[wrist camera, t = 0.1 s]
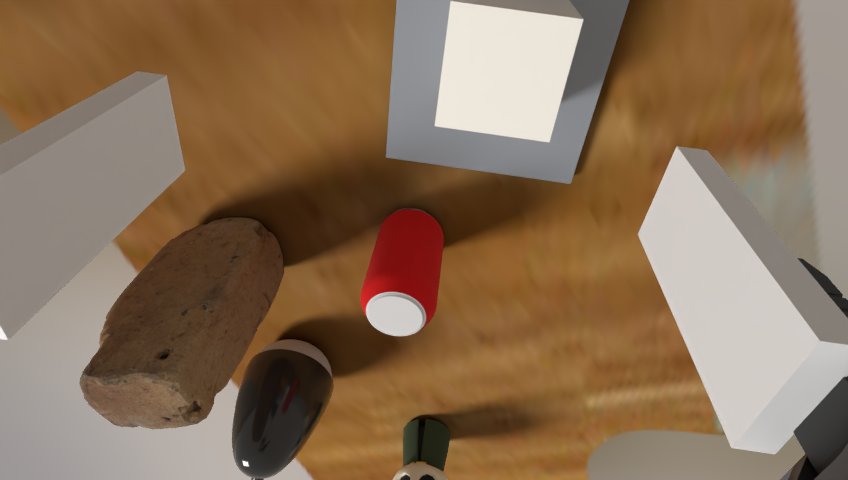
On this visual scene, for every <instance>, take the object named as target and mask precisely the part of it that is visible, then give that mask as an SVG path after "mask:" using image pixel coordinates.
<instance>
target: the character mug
mask: <svg viewBox="0 0 848 480" xmlns="http://www.w3.org/2000/svg"><path fill="white" fill-rule="evenodd" d="M449 440H450V433H449V431H448V429H447V428H446V426H444V425H443V424H441V423H440V422H438V421H434V420H430V419H426V421H425V426H421V427H419V420H414V421H411V422H409V423H408V424H407V425H406V426H405V428H404V438H403V467H402V468H401V469H400V470H399V471H398V472H397V473H396V475H395V477H394V478H393V480H449V479H448V477H447V476H446V475H445V473H444V472H443V471H444V466H445V461H446V457H447V452H448V446H449Z"/></svg>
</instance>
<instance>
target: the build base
mask: <svg viewBox="0 0 848 480" xmlns="http://www.w3.org/2000/svg"><path fill="white" fill-rule="evenodd" d="M628 4H629V0H397V4H396V18H395V32H394V47H393V61H392V75H391V90H390V104H389V118H388V132H387V147H386V158H392V159H399V160H406V161H413V162H420V163H427V164H434V165H441V166H448V167H455V168H462V169H469V170H476V171H483V172H490V173H497V174H504V175H511V176H518V177H525V178H532V179H539V180H546V181H553V182H560V183H567V184H571V181H572V178H573V175H574V172H575V169H576V166H577V162H578V159H579V156H580V153H581V150H582V147H583V144H584V141H585V137H586V134H587V131H588V128H589V125H590V122H591V119H592V116H593V113H594V109H595V106H596V103H597V100H598V97H599V94H600V91H601V88H602V85H603V81H604V78H605V75H606V72H607V69H608V66H609V63H610V60H611V57H612V53H613V50H614V47H615V44H616V41H617V38H618V35H619V32H620V28H621V25H622V22H623V19H624V16H625V13H626V10H627V7H628Z"/></svg>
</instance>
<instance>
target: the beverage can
mask: <svg viewBox="0 0 848 480" xmlns="http://www.w3.org/2000/svg"><path fill="white" fill-rule="evenodd" d="M443 243H444V235H443V231H442V229H441V227H440V225H439V223H438V222H437V221H436V220H435V219H434V218H433V217H432V216H431V215H430V214H428V213H426V212H424V211H422V210H419V209H414V208H404V209H399V210H397V211H394V212H393V213H391V214H390V215H389V216H388V217H387V218H386V219H385V220H384V222H383V223H382V225H381V228H380V231H379V234H378V238H377V241H376V244H375V248H374V251H373V254H372V258H371V261H370V264H369V268H368V271H367V274H366V278H365V281H364V284H363V288H362V291H361V305H362V309H363V311H364V313H365V315H366V317H367V319H368V321H369V323H370V324H371V325H372V326H373V327H374V328H375V329H377V330H378V331H380V332H382V333H384V334H387V335H390V336H396V337H404V336H409V335H413V334H415V333H417V332H418V331H420V330H421V329H422V328H423V327H424V326H426V325H427V324H428V323H429V322H430V320H431V319H432V317H433V316H434V313H435V311H436V306H437V297H438V288H439V279H440V270H441V261H442V252H443Z"/></svg>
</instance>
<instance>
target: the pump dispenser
mask: <svg viewBox="0 0 848 480" xmlns="http://www.w3.org/2000/svg"><path fill="white" fill-rule="evenodd" d="M333 387H334V385H333V380H332V372H331V367H330V364H329V362H328V360H327V358H326V357H325V355H324V354H323V353H322V352H321V351H320V350H319V349H318V348H316V347H315V346H313V345H311V344H309V343H307V342H304V341H301V340H295V339H286V340H280V341H277V342H274V343H272V344H270V345H268V346H267V347H265V348H264V349H263V350H262V351H261V352H260V353H259V354H257V355H255V356H254V357H253V358H252V359H251V360H250V362H249V363H248V365H247V367H246V370H245V372H244V375H243V378H242V381H241V385H240V388H239V392H238V397H237V401H236V406H235V413H234V419H233V428H232V448H233V455H234V459H235V462H236V464H237V466H238V468H239V469H240V470H241V471H242V472H243V473H244V474H246V475H247V476H249V477H252V480H263V479H264V478H268V477H271V476H274V475H276V474H277V473H279V472H280V471H281V470H283V469H284V468H285V467H286V466H287V465H288V464H289V463H290V462H291V461H292V460H293V459H294V458H295V457H296V456H297V454H298V453H299V452H300V451H301V449H302V448H303V446H304V445H305V444H306V442H307V441H308V439H309V438H310V436H311V435H312V433H313V432H314V430H315V428H316V427H317V425H318V423H319V421H320V420H321V418H322V416H323V414H324V412H325V410H326V408H327V406H328V404H329V401H330V399H331V396H332V393H333Z"/></svg>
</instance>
